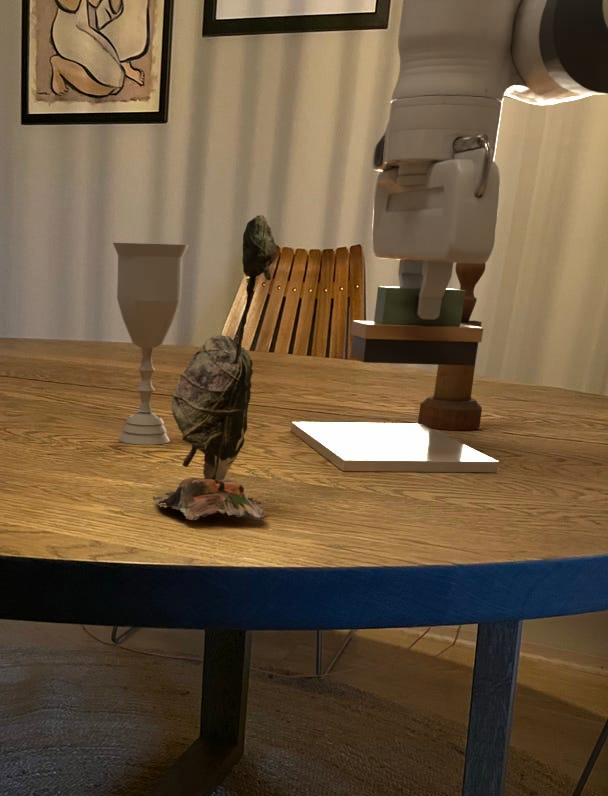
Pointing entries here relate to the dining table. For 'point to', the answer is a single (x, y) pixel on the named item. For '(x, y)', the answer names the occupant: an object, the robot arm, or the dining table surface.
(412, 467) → the tile
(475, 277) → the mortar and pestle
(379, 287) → the brush
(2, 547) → the dining table surface
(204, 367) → the plant with pod
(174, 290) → the chalice
